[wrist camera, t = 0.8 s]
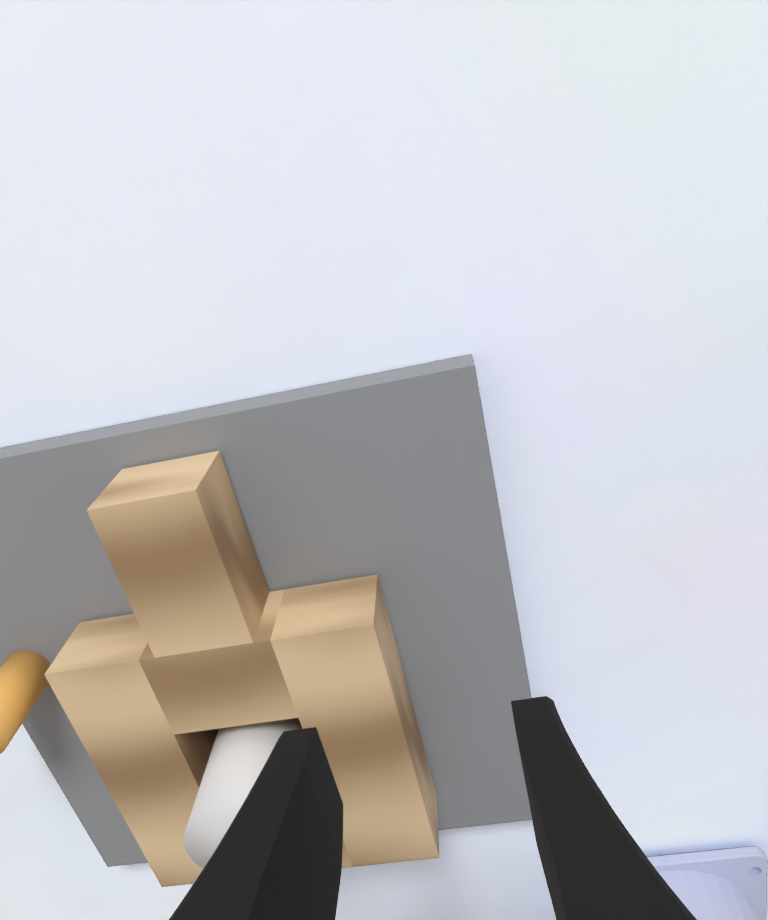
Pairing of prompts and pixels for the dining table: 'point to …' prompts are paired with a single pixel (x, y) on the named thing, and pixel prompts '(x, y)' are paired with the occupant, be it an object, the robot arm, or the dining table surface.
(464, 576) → the base plate
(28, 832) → the dining table surface
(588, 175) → the dining table surface
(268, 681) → the wooden beam assembly
